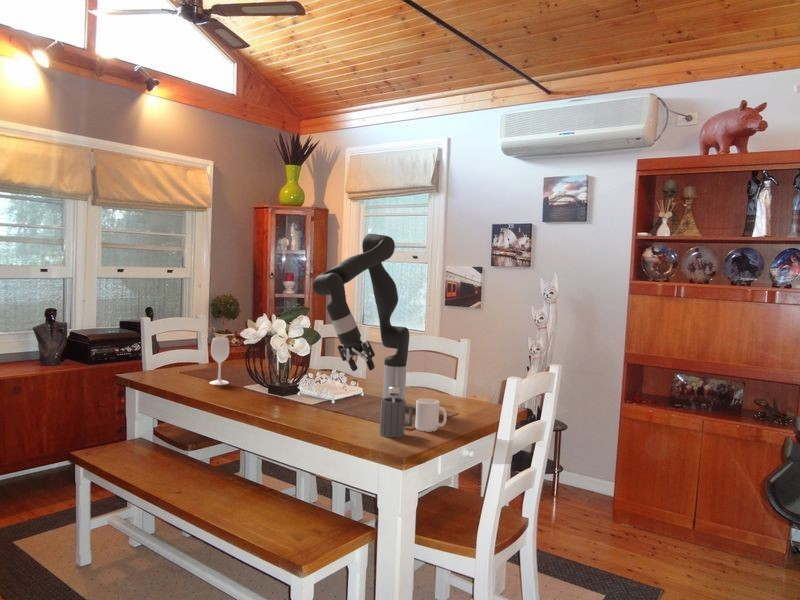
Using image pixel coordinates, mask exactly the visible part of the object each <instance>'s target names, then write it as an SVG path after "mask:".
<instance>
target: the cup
mask: <svg viewBox="0 0 800 600" xmlns="http://www.w3.org/2000/svg"><path fill="white" fill-rule="evenodd" d="M415 406H416V407H415V423H414V424H415V425H414V426H415V429H416V430H417V429H418V430H417V431H419V430H420V432H424V431H425V432H427V433H429V432H430V433H432V431H433V432H436V431H437V430H438V429H439V428H442V427H444V426H445V425H446V423H447V419H448V417H447V411H446V409H445V408H444V407H443V406H440V401H439V400H437V399H435V398H418V399H416V404H415ZM440 411H441V412H442V414H443V421H442V422H441V423H440V422H439V419H440V418H439V417H440Z"/></svg>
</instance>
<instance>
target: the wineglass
mask: <svg viewBox="0 0 800 600" xmlns="http://www.w3.org/2000/svg"><path fill="white" fill-rule="evenodd" d="M210 355H211V357H212V359H213V360H214V361H215V362H216V363H217V365H218V367H217V369H218V371H217V379H216V380H215V379H214V380H211V381H210V382H209V385H212V386H225V385H228V384H229V381H227V380H224V379H222V377H221V376H222V375H221V367H222V363H224V361H225V360H226V359H228V357H229V355H230V343H229V338H228V337H223V336H221V337H213V338H212V340H211V346H210Z"/></svg>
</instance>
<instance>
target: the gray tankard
mask: <svg viewBox="0 0 800 600" xmlns="http://www.w3.org/2000/svg"><path fill="white" fill-rule="evenodd" d="M380 401H381V402H380V403H381V404H380V421H379V422H380V423H379V435H380V436H382V437H383V436H384V437H383V438H389V439H390V438H391V439H397V438H402V437H404V436H405V427H413V415H414V414H413V413H414V406H413V405H406V403H407V402H406V401H407V400H406V398H405V399H402V398H396V397H395V402H392V397H387V398H383V397H382V398H381V400H380ZM406 410H409V411H408V412H409V413H408V422H406Z"/></svg>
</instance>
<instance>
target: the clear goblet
mask: <svg viewBox="0 0 800 600" xmlns="http://www.w3.org/2000/svg"><path fill="white" fill-rule="evenodd" d="M389 395H392V402H395V396H396V395H399V387H396V386H391V387H389Z"/></svg>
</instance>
